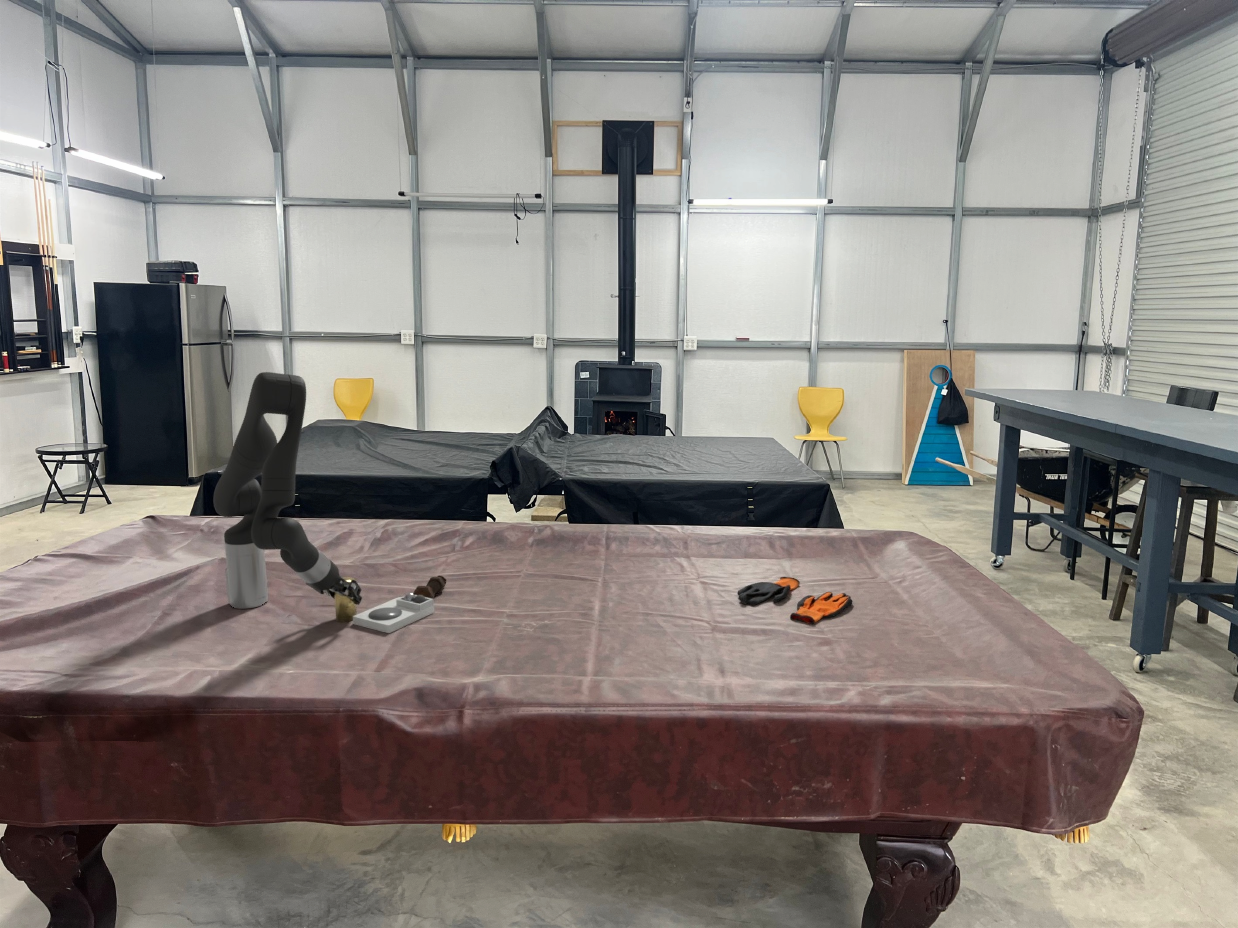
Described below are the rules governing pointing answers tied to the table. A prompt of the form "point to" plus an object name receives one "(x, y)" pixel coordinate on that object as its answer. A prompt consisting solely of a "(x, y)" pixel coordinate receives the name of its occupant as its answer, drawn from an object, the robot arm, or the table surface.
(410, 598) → the steel ball
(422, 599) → the rubber ball
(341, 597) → the ball
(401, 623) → the plate
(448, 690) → the table surface
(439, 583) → the bolt
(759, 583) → the pair of gloves
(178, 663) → the table surface
